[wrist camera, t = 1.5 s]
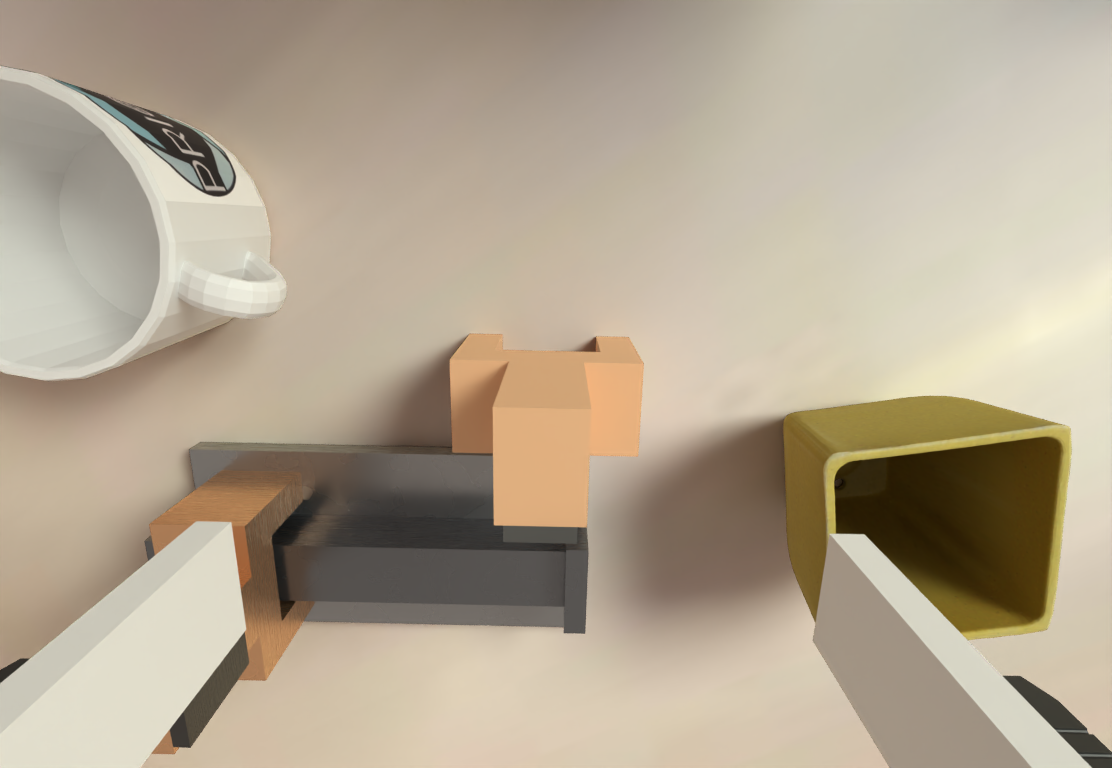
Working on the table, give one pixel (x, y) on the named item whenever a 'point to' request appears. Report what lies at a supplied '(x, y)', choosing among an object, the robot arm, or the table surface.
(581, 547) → the rail base
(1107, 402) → the table surface
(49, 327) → the mug
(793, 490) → the flower pot
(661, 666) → the table surface
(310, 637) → the table surface
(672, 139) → the table surface
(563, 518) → the tan wooden arch block
